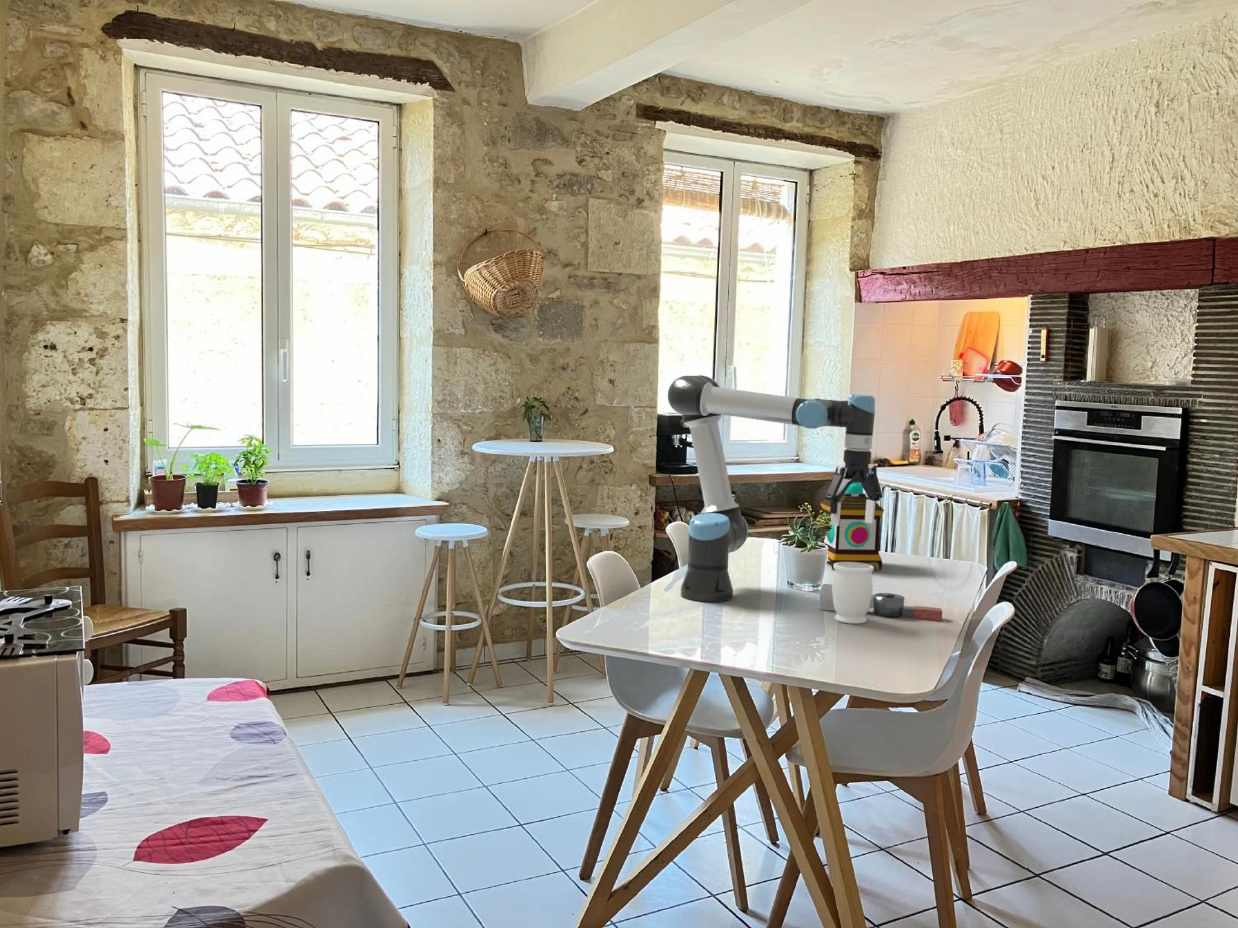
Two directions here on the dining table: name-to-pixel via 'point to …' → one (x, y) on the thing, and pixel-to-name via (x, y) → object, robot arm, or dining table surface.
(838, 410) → the robot arm
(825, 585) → the grey cube
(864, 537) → the decorative lantern
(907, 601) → the dining table surface
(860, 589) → the jar
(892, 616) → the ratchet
